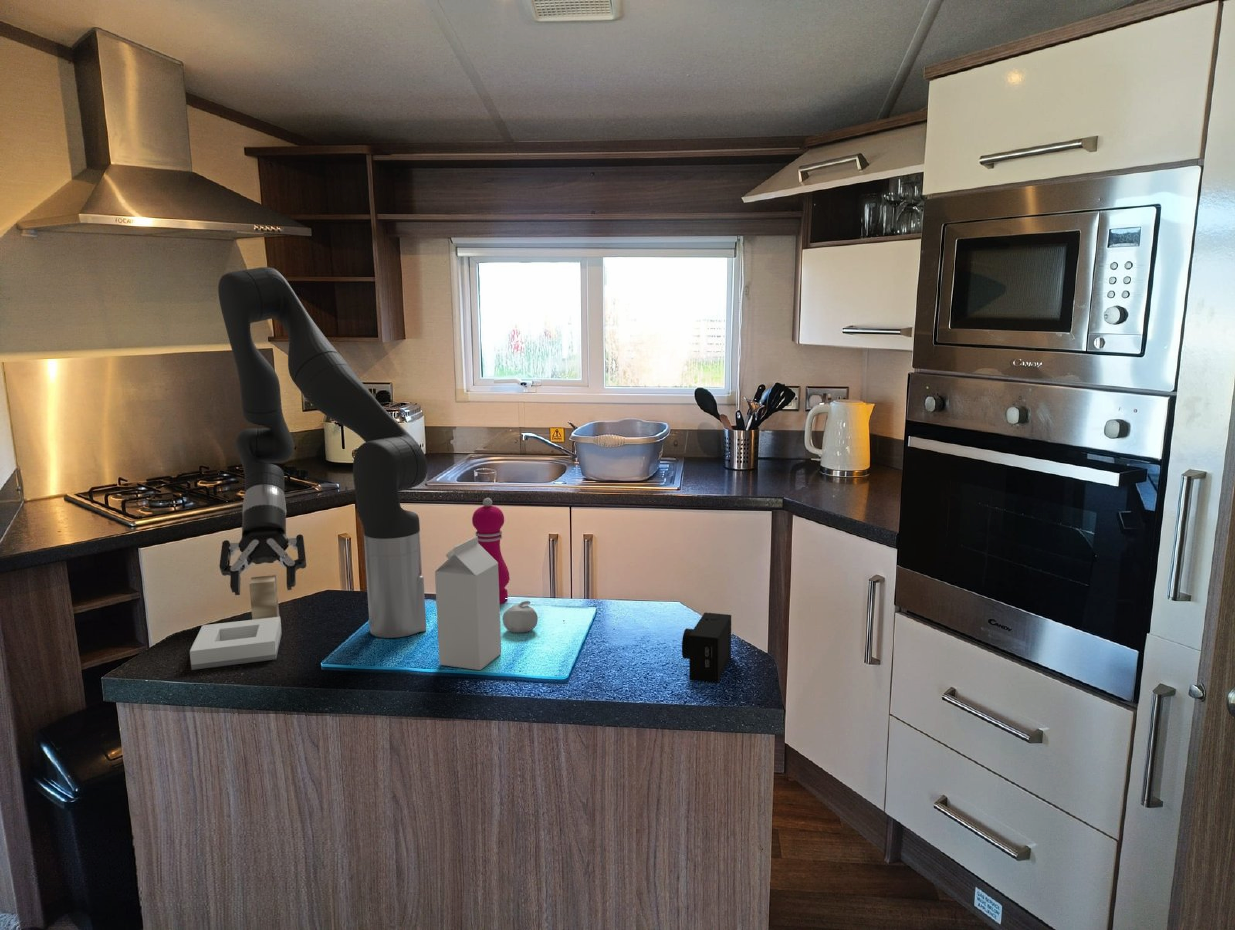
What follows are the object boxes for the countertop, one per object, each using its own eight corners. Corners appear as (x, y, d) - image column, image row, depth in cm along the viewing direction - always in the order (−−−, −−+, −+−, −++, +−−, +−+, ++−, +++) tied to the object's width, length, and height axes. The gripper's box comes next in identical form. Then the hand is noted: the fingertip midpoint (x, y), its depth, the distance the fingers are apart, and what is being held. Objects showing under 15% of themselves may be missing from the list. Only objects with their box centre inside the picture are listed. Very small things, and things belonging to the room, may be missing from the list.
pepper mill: (502, 607, 151) (499, 502, 148) (466, 605, 152) (461, 501, 149) (515, 595, 158) (511, 494, 155) (480, 593, 159) (476, 493, 156)
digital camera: (697, 653, 128) (697, 610, 127) (731, 656, 126) (731, 613, 125) (681, 679, 118) (681, 633, 117) (717, 683, 117) (718, 637, 116)
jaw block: (279, 617, 147) (275, 575, 146) (277, 624, 143) (273, 581, 142) (255, 620, 146) (251, 577, 144) (253, 627, 142) (249, 583, 141)
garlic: (539, 624, 141) (538, 596, 141) (537, 636, 136) (536, 606, 135) (505, 625, 141) (503, 597, 141) (501, 636, 136) (500, 607, 135)
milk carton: (501, 654, 128) (497, 537, 125) (480, 671, 122) (475, 549, 119) (462, 649, 131) (457, 534, 128) (439, 665, 124) (433, 545, 121)
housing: (281, 633, 139) (280, 616, 138) (276, 659, 128) (274, 640, 127) (204, 642, 135) (202, 625, 135) (191, 669, 124) (189, 651, 123)
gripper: (219, 506, 147) (215, 584, 138) (303, 500, 152) (304, 576, 143) (226, 528, 153) (222, 605, 144) (306, 522, 157) (308, 596, 148)
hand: (263, 590), depth 143 cm, fingers open, 8 cm apart
